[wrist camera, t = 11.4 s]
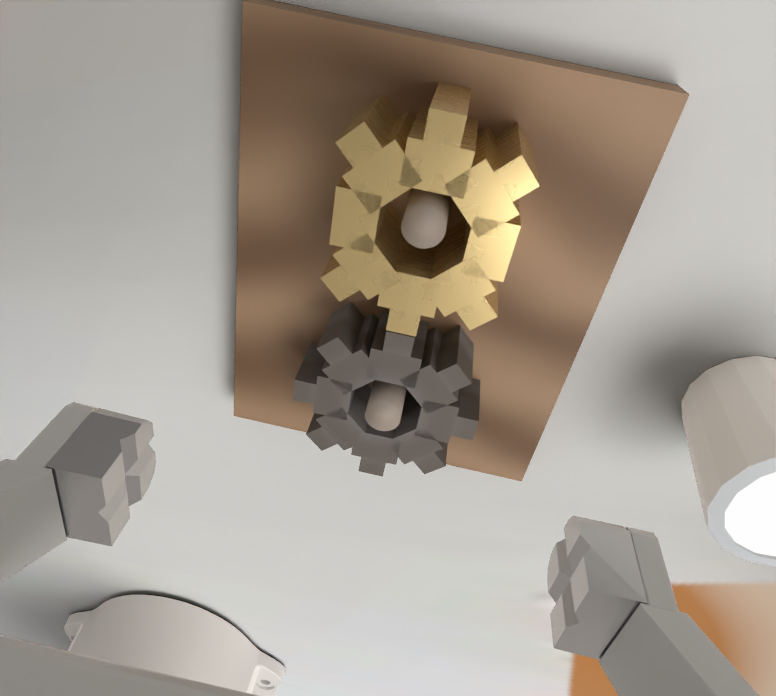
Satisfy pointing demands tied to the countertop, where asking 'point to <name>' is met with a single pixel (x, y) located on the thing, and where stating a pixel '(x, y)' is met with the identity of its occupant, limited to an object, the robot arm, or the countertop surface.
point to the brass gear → (434, 174)
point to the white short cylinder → (736, 454)
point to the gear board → (554, 216)
